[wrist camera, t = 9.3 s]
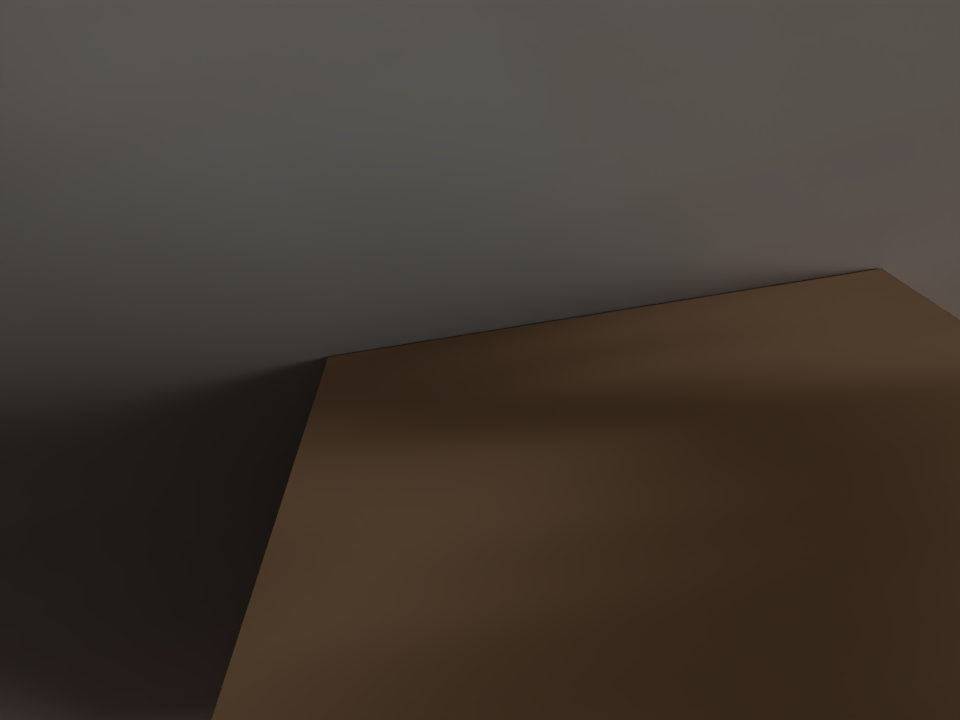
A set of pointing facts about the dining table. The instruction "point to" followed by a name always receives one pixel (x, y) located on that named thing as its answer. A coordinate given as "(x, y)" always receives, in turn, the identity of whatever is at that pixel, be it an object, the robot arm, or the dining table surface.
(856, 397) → the cardboard box
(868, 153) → the dining table surface
